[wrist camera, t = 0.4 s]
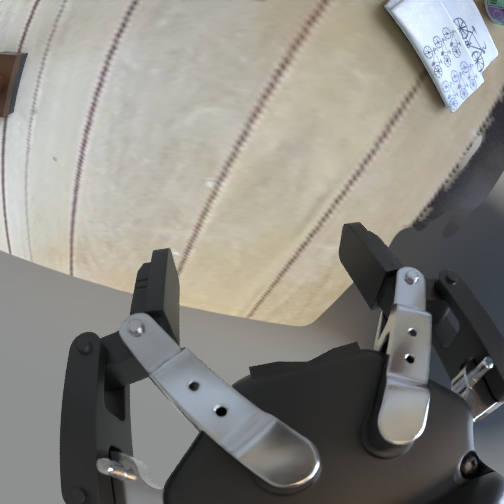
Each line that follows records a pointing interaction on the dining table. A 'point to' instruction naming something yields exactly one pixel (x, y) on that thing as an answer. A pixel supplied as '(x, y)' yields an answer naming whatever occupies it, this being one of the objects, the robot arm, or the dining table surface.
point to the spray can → (495, 10)
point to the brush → (10, 79)
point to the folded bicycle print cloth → (447, 43)
